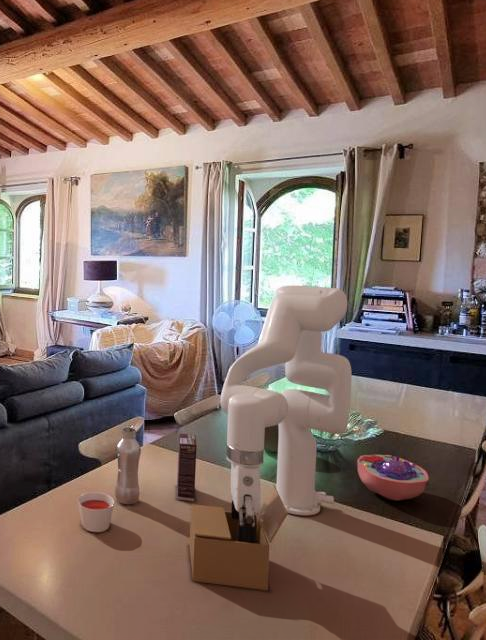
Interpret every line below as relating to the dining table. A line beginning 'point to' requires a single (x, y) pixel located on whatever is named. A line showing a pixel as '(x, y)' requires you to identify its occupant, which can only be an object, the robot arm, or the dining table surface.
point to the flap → (272, 513)
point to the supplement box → (186, 467)
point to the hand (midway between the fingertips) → (242, 530)
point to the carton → (226, 550)
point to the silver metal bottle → (128, 467)
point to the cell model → (391, 476)
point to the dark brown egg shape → (271, 438)
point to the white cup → (95, 511)
